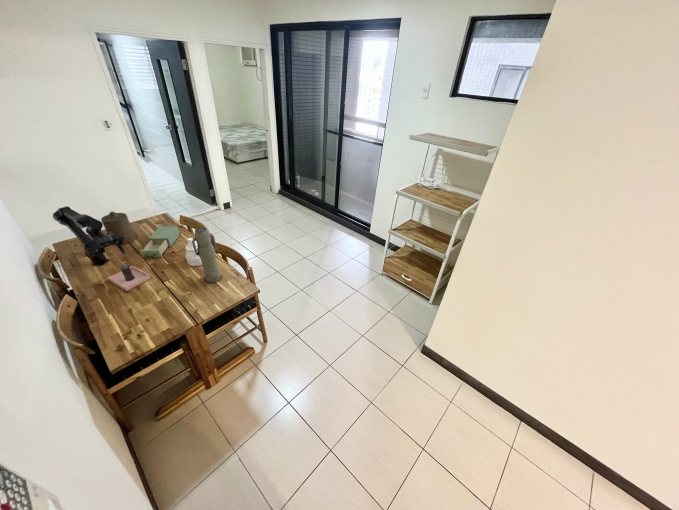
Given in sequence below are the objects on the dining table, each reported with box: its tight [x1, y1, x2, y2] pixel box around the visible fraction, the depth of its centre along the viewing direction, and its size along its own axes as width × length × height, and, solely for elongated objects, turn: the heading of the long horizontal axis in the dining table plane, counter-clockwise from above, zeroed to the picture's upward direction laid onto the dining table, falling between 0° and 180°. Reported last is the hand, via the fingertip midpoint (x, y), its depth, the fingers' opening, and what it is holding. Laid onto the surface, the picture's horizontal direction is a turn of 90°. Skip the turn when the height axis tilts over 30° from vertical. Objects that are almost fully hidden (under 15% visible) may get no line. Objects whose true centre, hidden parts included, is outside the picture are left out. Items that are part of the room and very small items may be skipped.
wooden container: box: [100, 211, 137, 245], centre depth 194 cm, size 15×15×22 cm
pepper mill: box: [120, 263, 135, 281], centre depth 162 cm, size 5×5×11 cm
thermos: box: [192, 226, 222, 284], centre depth 161 cm, size 9×12×35 cm
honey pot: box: [185, 237, 203, 267], centre depth 180 cm, size 13×13×18 cm
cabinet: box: [148, 225, 180, 248], centre depth 201 cm, size 18×13×7 cm
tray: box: [107, 265, 152, 292], centre depth 165 cm, size 17×14×2 cm
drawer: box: [140, 239, 169, 259], centre depth 187 cm, size 21×11×5 cm, turn 7°
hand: (116, 257), depth 161 cm, fingers open, 9 cm apart
